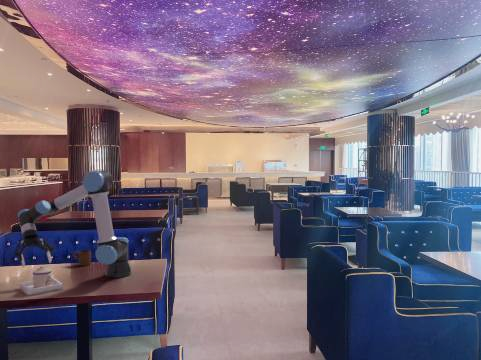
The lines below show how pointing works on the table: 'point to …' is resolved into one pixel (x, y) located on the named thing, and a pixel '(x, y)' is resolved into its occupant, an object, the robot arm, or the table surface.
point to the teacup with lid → (41, 277)
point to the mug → (83, 257)
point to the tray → (29, 289)
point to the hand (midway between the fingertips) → (37, 263)
